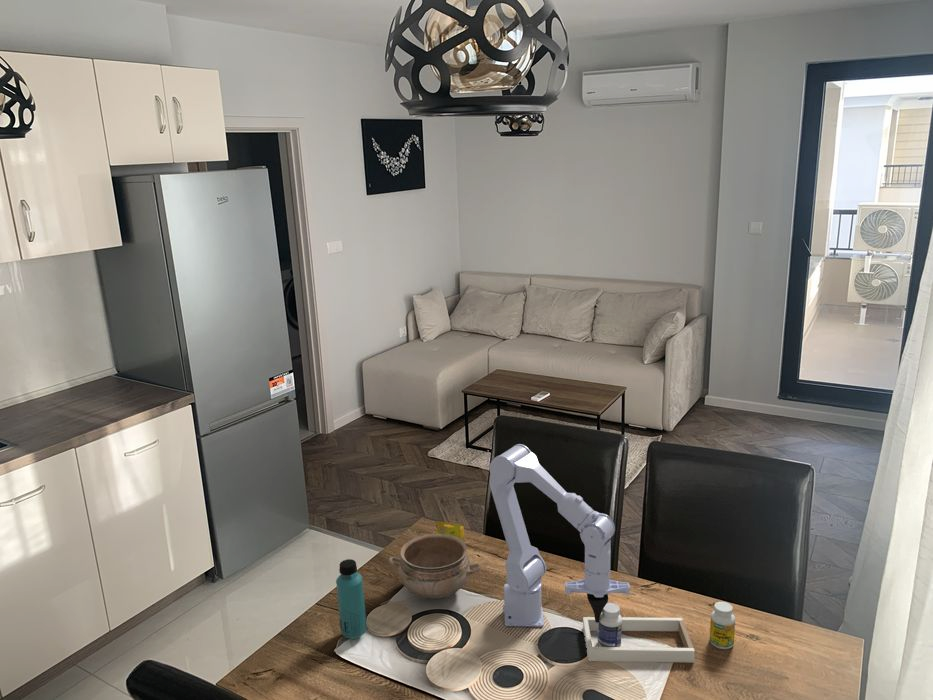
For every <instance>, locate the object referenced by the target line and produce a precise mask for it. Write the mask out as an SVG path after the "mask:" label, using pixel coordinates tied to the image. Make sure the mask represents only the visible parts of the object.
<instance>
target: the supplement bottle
mask: <svg viewBox="0 0 933 700" xmlns="http://www.w3.org/2000/svg"><path fill="white" fill-rule="evenodd" d="M733 609H734V607H733V606H732V604H730V603H729V602H725V601H716V602H715V603H714V605H713V610H712V612H711V614H710V623H709V624H710V625H709V626H710V627H709V642H710V644H711V645H712V646H713V647H715V648H717V649H720V650H729V649H731V648H733V646H734V645H735V633H736V630H735V629H736V616H735V614H733V613H734V612H733Z"/></svg>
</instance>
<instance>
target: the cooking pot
mask: <svg viewBox="0 0 933 700" xmlns="http://www.w3.org/2000/svg"><path fill="white" fill-rule="evenodd" d="M467 552H468V546H467V544H466V543H464V542H463V541H462V540H461V539H459V538H457V537H455V536H452V535H447V534H438V533H428V534H423V535H422V534H421V535H418V536H416V537H413V538H411V539H410V540H408V541H407V542H406V543H404V544H403V546H402V547H401V549H400V557H397V556H390V557H389V559H388V563H389V564H390V566H391V567H393V569H396V571H398V576H399V579H400V582H401V583H402V585H403V586H404V588H405V589H406V590H408V592H410V593H411V594H413V595H415V596H417V597H420V598H423V599H432V600H433V599H434V600H435V599H436V600H437V599H441V598H446V597H450V596H452V595H454V594H455V593H457V592H459V591H460V590H461V589H462V588H463V587H464V585H466V583H467V581H468V579H469V578H470V576H471V575H473V574H476V573H477V572H478V571H480V570H481V568H482V564H481V563H471V562H470V558H469V555H468V554H467ZM394 561H396V562H398V563H399V564H396V563H395V562H394Z"/></svg>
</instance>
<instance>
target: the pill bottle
mask: <svg viewBox="0 0 933 700" xmlns="http://www.w3.org/2000/svg"><path fill="white" fill-rule="evenodd" d="M620 610H621V607H620V606H619V605H618V604H616V603H613V602H607V604H606V605H605V607H604V608H603V610H602V612H601V615H600V618H599V624H598V632H597V643H598V647H622V635H623V634H622V632H623V631H622V615H621V614H620V613H621V612H620Z"/></svg>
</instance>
